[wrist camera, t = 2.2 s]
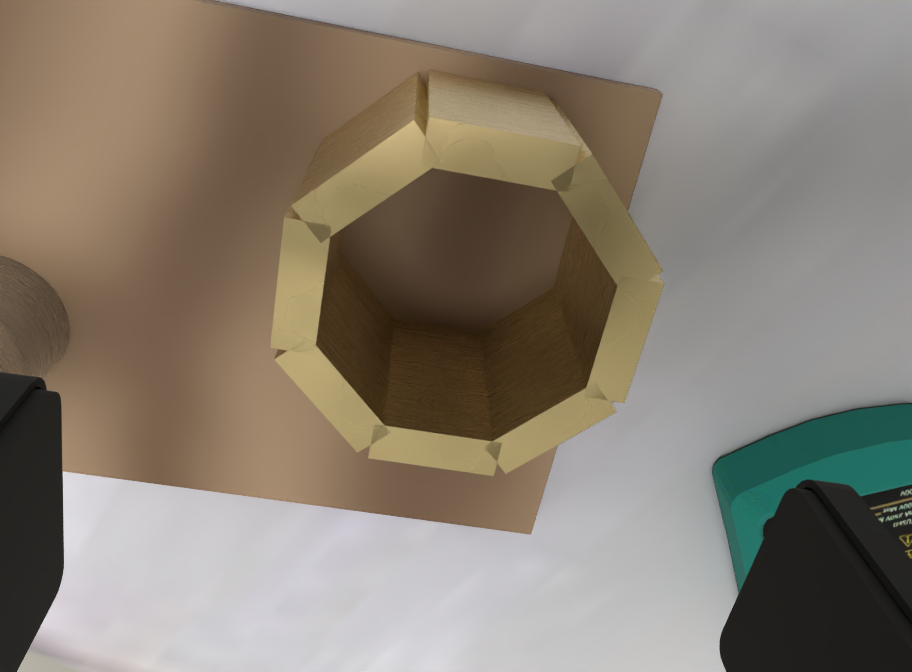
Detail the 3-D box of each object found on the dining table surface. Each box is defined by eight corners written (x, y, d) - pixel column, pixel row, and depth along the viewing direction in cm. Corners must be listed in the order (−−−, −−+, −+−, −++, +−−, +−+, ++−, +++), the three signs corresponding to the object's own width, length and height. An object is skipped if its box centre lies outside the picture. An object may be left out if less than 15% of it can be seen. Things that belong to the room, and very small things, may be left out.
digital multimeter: (954, 373, 24) (1019, 429, 21) (955, 712, 30) (1005, 788, 28) (701, 434, 24) (733, 496, 22) (755, 752, 31) (785, 829, 28)
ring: (638, 110, 19) (702, 168, 14) (561, 374, 22) (595, 490, 18) (329, 49, 18) (297, 92, 14) (295, 333, 21) (260, 442, 17)
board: (656, 89, 19) (662, 94, 19) (528, 521, 25) (530, 534, 24) (-264, -96, 17) (-287, -96, 17) (-173, 425, 23) (-188, 437, 22)
